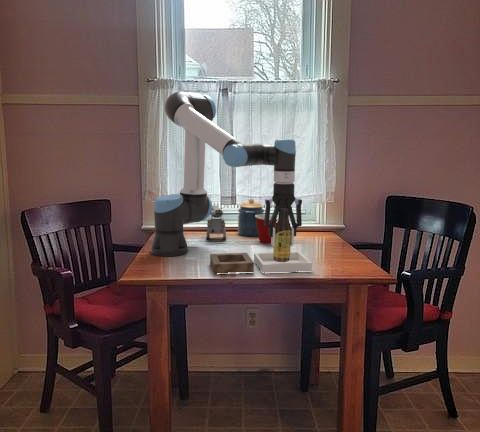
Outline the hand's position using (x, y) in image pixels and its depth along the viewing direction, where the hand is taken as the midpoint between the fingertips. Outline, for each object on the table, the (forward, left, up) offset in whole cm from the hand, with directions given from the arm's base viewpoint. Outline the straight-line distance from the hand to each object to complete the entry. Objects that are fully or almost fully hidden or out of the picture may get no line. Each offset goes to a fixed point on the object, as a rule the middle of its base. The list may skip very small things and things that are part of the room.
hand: (282, 245), depth 169 cm
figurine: (-19, +49, -9) cm, 53 cm away
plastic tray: (0, 0, -8) cm, 8 cm away
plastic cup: (+3, +40, -9) cm, 41 cm away
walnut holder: (-19, 0, -8) cm, 21 cm away
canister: (-1, +57, -9) cm, 58 cm away
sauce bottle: (0, 0, -6) cm, 6 cm away
